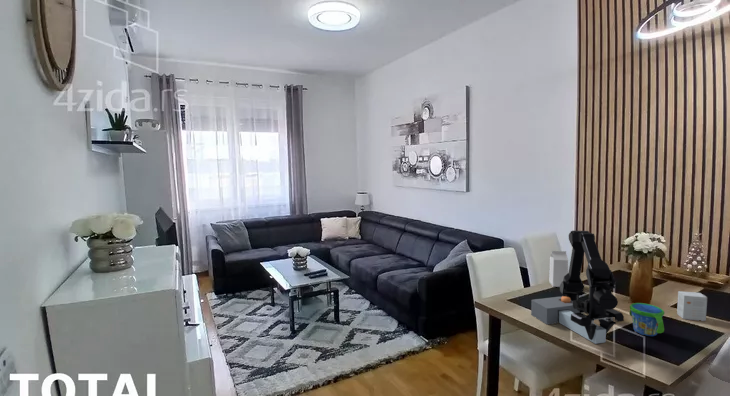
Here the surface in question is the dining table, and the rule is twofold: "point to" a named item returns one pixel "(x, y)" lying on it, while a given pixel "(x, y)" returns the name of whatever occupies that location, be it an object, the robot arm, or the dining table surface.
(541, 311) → the block
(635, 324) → the snack cup
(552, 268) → the milk carton
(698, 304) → the small box
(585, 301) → the robot arm
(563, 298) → the plunger
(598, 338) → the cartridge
